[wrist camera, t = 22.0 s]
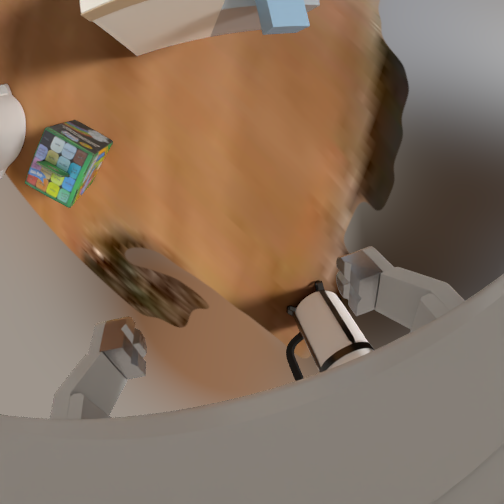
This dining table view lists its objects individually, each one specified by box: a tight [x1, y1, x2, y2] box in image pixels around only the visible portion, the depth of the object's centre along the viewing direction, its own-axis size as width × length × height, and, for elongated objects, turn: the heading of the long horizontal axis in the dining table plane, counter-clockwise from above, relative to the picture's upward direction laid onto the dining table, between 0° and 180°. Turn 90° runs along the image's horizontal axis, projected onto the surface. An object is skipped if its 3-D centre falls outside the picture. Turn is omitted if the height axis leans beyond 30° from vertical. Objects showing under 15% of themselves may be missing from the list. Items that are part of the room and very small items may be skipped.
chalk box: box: [25, 120, 113, 208], centre depth 32 cm, size 9×9×15 cm
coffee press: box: [286, 281, 374, 381], centre depth 56 cm, size 17×16×30 cm
